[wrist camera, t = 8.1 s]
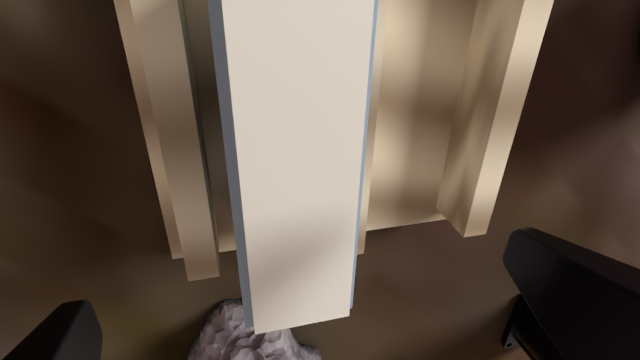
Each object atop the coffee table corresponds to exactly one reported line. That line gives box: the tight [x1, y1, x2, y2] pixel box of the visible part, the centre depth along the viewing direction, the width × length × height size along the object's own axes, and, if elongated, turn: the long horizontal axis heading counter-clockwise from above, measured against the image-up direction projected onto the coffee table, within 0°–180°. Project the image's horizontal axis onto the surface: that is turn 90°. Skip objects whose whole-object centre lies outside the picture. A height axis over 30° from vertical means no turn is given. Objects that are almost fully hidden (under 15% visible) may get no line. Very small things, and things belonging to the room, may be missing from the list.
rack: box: [113, 0, 554, 281], centre depth 17 cm, size 16×18×4 cm
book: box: [207, 0, 378, 334], centre depth 14 cm, size 11×4×8 cm, turn 179°
